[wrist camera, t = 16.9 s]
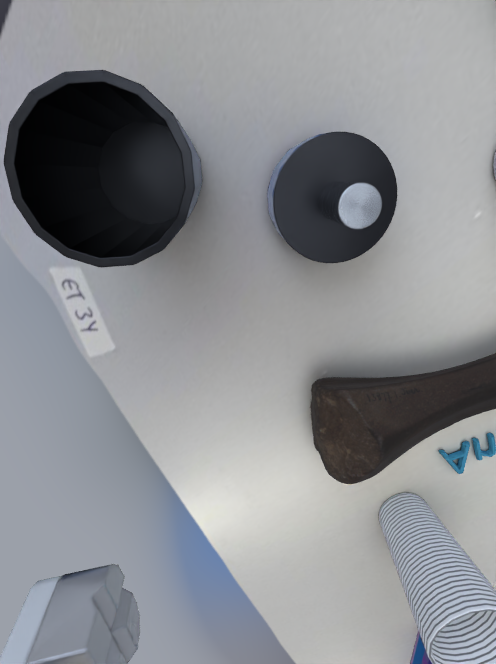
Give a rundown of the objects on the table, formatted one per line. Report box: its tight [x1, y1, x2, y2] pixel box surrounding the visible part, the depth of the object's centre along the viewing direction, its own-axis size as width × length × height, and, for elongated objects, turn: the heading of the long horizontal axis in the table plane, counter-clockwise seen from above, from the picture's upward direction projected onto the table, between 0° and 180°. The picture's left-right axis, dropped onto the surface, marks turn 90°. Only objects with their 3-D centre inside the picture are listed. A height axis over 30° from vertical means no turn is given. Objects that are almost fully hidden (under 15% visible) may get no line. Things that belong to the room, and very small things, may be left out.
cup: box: [379, 493, 496, 664], centre depth 44 cm, size 8×8×16 cm
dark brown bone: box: [311, 353, 496, 484], centre depth 42 cm, size 11×10×28 cm
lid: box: [273, 132, 397, 263], centre depth 32 cm, size 10×10×7 cm
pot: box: [4, 70, 202, 267], centre depth 29 cm, size 9×9×16 cm
